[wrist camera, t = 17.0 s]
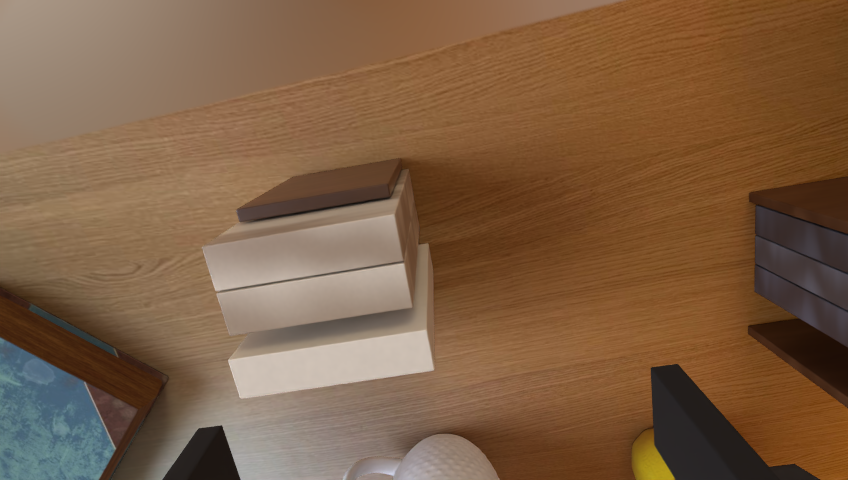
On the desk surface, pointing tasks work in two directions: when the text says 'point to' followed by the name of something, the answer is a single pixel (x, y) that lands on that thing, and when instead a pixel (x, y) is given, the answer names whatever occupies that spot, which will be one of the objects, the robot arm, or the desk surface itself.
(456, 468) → the mug
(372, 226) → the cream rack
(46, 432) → the book
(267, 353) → the cream book
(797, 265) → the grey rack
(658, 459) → the apple
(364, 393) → the desk surface
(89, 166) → the desk surface
